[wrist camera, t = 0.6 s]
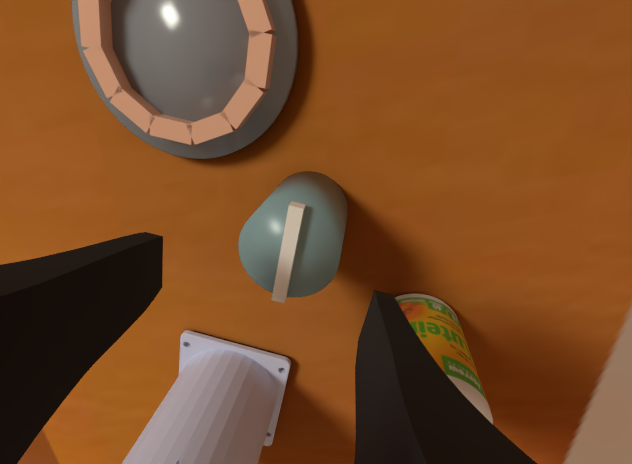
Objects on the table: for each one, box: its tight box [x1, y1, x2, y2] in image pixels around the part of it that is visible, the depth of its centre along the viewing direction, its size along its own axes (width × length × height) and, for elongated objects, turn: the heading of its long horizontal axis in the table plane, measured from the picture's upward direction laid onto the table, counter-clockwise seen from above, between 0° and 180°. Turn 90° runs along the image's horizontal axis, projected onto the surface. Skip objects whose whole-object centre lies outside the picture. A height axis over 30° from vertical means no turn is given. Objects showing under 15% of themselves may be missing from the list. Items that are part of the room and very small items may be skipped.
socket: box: [72, 0, 299, 159], centre depth 16 cm, size 11×11×2 cm
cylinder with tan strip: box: [238, 171, 348, 303], centre depth 17 cm, size 5×4×6 cm
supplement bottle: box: [395, 294, 493, 424], centre depth 17 cm, size 5×5×10 cm
